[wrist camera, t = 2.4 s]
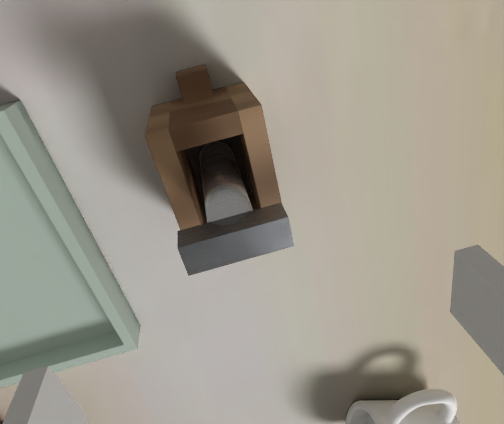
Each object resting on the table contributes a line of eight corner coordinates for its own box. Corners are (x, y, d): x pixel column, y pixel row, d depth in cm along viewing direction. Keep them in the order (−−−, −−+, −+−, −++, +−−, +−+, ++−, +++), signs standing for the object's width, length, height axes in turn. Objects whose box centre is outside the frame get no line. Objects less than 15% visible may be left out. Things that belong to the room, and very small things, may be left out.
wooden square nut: (270, 202, 29) (290, 246, 24) (193, 223, 29) (197, 272, 23) (237, 55, 23) (254, 72, 18) (142, 80, 23) (132, 104, 18)
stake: (186, 183, 27) (191, 282, 18) (176, 152, 26) (174, 240, 16) (255, 164, 27) (295, 252, 18) (247, 132, 26) (286, 209, 17)
